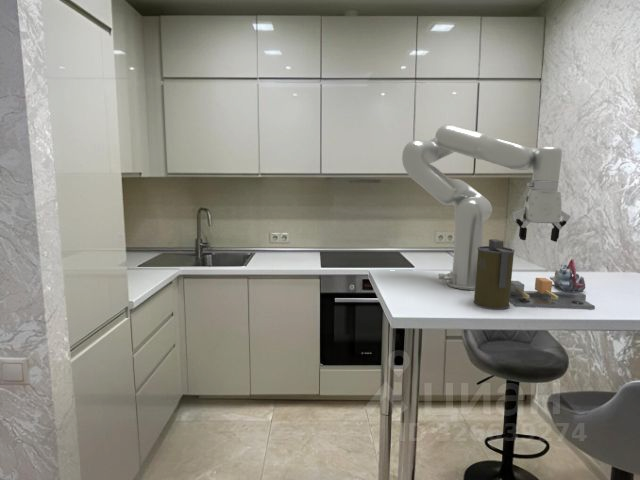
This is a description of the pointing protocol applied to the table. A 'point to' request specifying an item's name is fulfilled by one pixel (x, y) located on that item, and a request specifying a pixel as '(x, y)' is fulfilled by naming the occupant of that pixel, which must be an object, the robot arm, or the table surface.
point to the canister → (493, 275)
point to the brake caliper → (568, 278)
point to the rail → (545, 296)
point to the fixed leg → (518, 289)
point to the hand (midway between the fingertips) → (538, 240)
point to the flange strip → (551, 303)
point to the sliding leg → (545, 287)
